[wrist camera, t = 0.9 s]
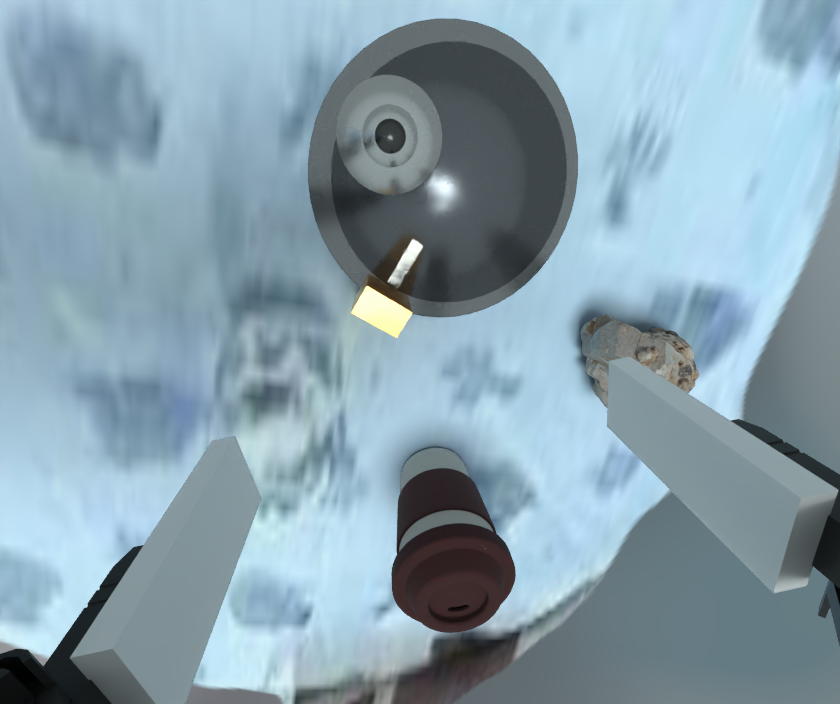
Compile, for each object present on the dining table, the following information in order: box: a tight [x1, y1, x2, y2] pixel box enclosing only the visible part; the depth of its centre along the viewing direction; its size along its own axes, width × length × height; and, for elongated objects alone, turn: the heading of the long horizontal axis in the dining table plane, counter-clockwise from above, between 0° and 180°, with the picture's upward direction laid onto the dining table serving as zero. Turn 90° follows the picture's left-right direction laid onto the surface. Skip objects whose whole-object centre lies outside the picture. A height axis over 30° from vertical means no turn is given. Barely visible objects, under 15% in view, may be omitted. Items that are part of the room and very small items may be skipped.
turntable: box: [331, 41, 567, 338], centre depth 29 cm, size 18×21×5 cm
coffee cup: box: [392, 448, 516, 633], centre depth 36 cm, size 10×10×15 cm
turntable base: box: [308, 19, 578, 317], centre depth 32 cm, size 22×22×1 cm
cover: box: [336, 75, 442, 195], centre depth 26 cm, size 7×7×3 cm
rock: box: [580, 315, 699, 408], centre depth 36 cm, size 9×12×10 cm
